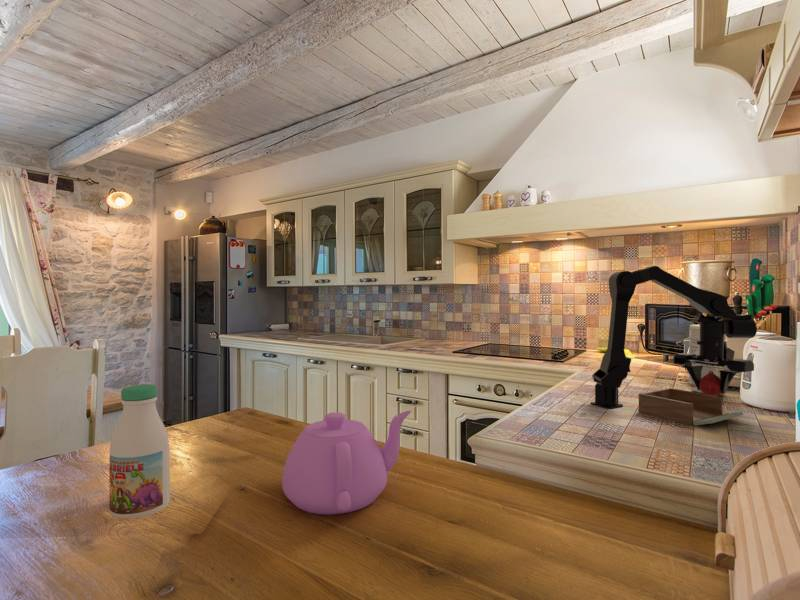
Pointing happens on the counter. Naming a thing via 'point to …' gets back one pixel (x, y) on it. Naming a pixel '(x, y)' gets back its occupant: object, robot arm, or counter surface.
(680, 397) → the crate
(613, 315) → the robot arm
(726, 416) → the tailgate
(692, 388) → the juice carton
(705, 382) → the onion
